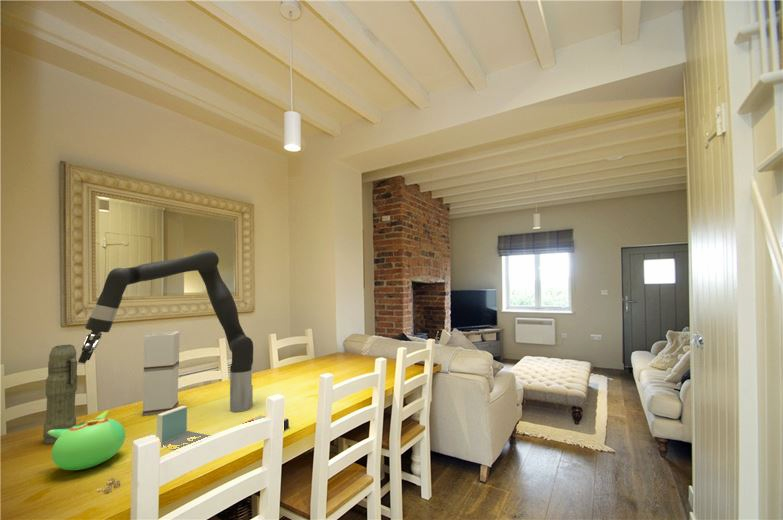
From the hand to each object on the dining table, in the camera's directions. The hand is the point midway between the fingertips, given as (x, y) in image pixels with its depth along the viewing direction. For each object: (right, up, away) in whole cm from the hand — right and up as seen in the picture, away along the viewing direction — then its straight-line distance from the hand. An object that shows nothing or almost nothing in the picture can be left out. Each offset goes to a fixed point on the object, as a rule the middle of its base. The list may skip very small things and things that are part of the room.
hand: (83, 361), depth 130 cm
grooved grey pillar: (+8, -32, +31) cm, 46 cm away
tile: (+33, -29, 0) cm, 44 cm away
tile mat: (+37, -29, -2) cm, 47 cm away
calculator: (+65, -29, +6) cm, 72 cm away
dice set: (+35, -28, -31) cm, 54 cm away
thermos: (-11, -30, +2) cm, 32 cm away
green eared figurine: (+17, -28, -18) cm, 38 cm away
